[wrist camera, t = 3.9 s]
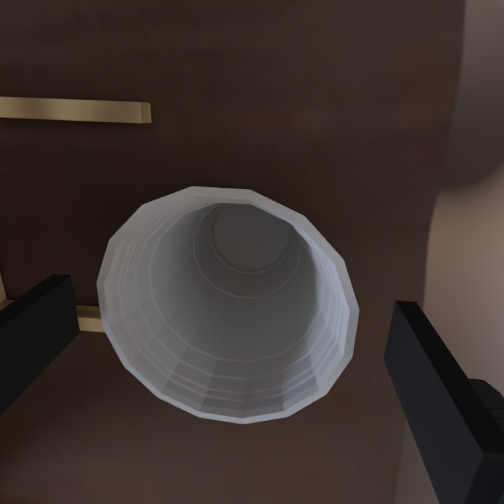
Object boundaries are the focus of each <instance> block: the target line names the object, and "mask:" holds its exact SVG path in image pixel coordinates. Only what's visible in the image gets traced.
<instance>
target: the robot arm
mask: <svg viewBox="0 0 504 504" xmlns="http://www.w3.org/2000/svg"><path fill="white" fill-rule="evenodd" d="M79 333H80V328H79V322H78V316H77V310H76V304H75V298H74V292H73V286H72V280H71V275H58V274H53V275H51V276H50V277H48V278H47V279H45V280H44V281H42V282H41V283H39V284H38V285H36V286H35V287H33V288H32V289H31V290H29V291H28V292H26V293H25V294H23V295H22V296H20V297H19V298H17V299H16V300H14V301H13V302H12V303H10V304H9V305H7V306H6V307H4V308H3V309H1V310H0V415H1V414H2V413H3V412H4V411H5V410H6V409H7V408H8V407H9V406H10V405H11V404H12V403H13V402H14V401H15V400H16V399H17V398H18V396H19V395H20V394H21V393H22V392H23V391H24V390H25V389H26V388H27V387H28V386H29V385H30V384H31V383H32V382H33V381H34V380H35V379H36V378H37V377H38V376H39V374H40V373H41V372H42V371H43V370H44V369H45V368H46V367H47V366H48V365H49V364H50V363H51V362H52V361H53V360H54V359H55V358H56V357H57V356H58V355H59V354H60V352H61V351H62V350H63V349H64V348H65V347H66V346H67V345H68V344H69V343H70V342H71V341H72V340H73V339H74V338H75V337H76V336H77V335H78V334H79ZM384 361H385V364H386V366H387V369H388V372H389V374H390V377H391V379H392V382H393V385H394V387H395V390H396V392H397V395H398V397H399V400H400V403H401V405H402V408H403V410H404V413H405V416H406V418H407V421H408V423H409V426H410V428H411V431H412V434H413V436H414V439H415V441H416V444H417V447H418V449H419V452H420V454H421V456H422V460H423V462H424V465H425V467H426V470H427V472H428V475H429V477H430V480H431V483H432V485H433V488H434V491H435V493H436V496H437V498H438V500H439V503H440V504H504V397H503V396H502V395H501V394H500V392H498V391H497V390H496V389H495V388H493V387H492V386H491V385H490V384H488V383H487V382H486V381H484V380H478V379H468V378H467V376H466V375H465V373H464V372H463V370H462V369H461V367H460V366H459V364H458V363H457V362H456V360H455V358H454V357H453V356H452V354H451V353H450V351H449V350H448V348H447V347H446V345H445V344H444V342H443V341H442V339H441V338H440V336H439V335H438V333H437V332H436V330H435V329H434V327H433V326H432V325H431V323H430V322H429V320H428V319H427V317H426V316H425V314H424V313H423V311H422V310H421V308H420V307H419V305H418V304H417V302H410V301H397V300H396V302H395V307H394V312H393V316H392V321H391V326H390V331H389V336H388V340H387V345H386V350H385V355H384Z"/></svg>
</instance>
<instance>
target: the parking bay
mask: <svg viewBox="0 0 504 504" xmlns="http://www.w3.org/2000/svg"><path fill="white" fill-rule="evenodd" d="M0 118H23V119H47V120H71V121H95V122H119V123H151V106H150V103H147V102H130V101H104V100H77V99H51V98H24V97H0ZM13 301H14V300H7V298H6V294H5V290H4V286H3V282H2V278H1V274H0V310H1V309H3V308H4V307H6V306H7V305H9V304H10V303H12V302H13ZM76 310H77V316H78V322H79V328H80V330H82V331H94V332H105V331H104V329H103V327H102V321H101V314H100V307H98V306H85V305H76Z"/></svg>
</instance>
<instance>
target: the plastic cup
mask: <svg viewBox="0 0 504 504" xmlns="http://www.w3.org/2000/svg"><path fill="white" fill-rule="evenodd" d="M96 284H97V292H98V299H99V306H100V314H101V321H102V327H103V329H104V331H105V333H106V335H107V336H108V338H109V340H110V342H111V344H112V345H113V347H114V349H115V351H116V353H117V355H118V356H119V358H120V360H121V362H122V364H123V365H124V367H125V368H126V369H127V370H129V371H130V372H131V373H132V374H133V375H134V376H135V377H136V378H137V379H138V380H139V381H140V382H141V383H143V384H144V385H145V386H146V387H147V388H148V389H149V390H150V391H151V392H152V393H153V394H154V395H156V396H157V397H158V398H160V399H162V400H164V401H166V402H168V403H170V404H172V405H175V406H177V407H179V408H181V409H183V410H185V411H187V412H189V413H191V414H193V415H195V416H197V417H201V418H207V419H214V420H220V421H227V422H233V423H240V424H248V423H254V422H260V421H266V420H271V419H277V418H283V417H288V416H290V415H292V414H294V413H295V412H297V411H299V410H300V409H302V408H304V407H305V406H307V405H309V404H311V403H312V402H314V401H316V400H317V399H319V398H321V397H322V396H324V395H326V394H327V393H328V391H329V390H330V388H331V387H332V385H333V384H334V383H335V381H336V380H337V378H338V377H339V376H340V374H341V373H342V371H343V370H344V368H345V367H346V366H347V364H348V363H349V361H350V360H351V359H352V356H353V349H354V343H355V336H356V330H357V323H358V317H359V307H358V304H357V301H356V298H355V295H354V291H353V288H352V285H351V282H350V279H349V276H348V272H347V269H346V266H345V263H344V260H343V259H342V258H341V256H340V255H339V254H338V253H337V252H336V251H335V250H334V249H333V247H332V246H331V245H330V244H329V243H328V242H327V241H326V240H325V238H324V237H323V236H322V235H321V234H320V233H319V232H318V231H317V229H316V228H315V227H314V226H313V225H312V224H311V223H310V222H309V220H308V219H307V218H306V217H305V216H303V215H301V214H299V213H297V212H295V211H293V210H291V209H289V208H287V207H285V206H283V205H281V204H279V203H278V202H277V201H276V200H274V199H272V198H270V197H268V196H265V195H263V194H261V193H256V192H254V191H252V190H246V189H230V188H213V187H196V186H191V187H188V188H186V189H183V190H181V191H178V192H175V193H173V194H170V195H167V196H165V197H162V198H159V199H157V200H154V201H151V202H149V203H146V204H143V205H142V206H141V207H140V208H139V209H138V210H137V211H136V212H135V213H134V214H133V215H132V216H131V217H130V218H129V219H128V220H127V222H126V223H125V224H124V225H123V226H122V227H121V228H120V229H119V230H118V231H117V232H116V233H115V234H114V235H113V236H112V237H111V238H110V240H109V242H108V246H107V249H106V252H105V256H104V259H103V262H102V266H101V269H100V272H99V276H98V279H97V282H96Z"/></svg>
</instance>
